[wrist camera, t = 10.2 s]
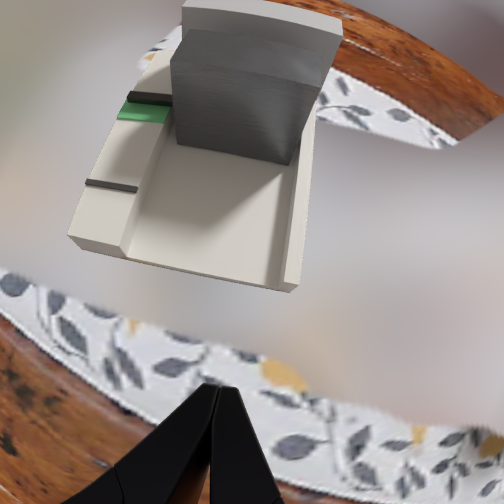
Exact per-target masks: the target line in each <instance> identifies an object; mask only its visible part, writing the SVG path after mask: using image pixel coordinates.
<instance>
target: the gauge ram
mask: <svg viewBox="0 0 504 504" xmlns="http://www.w3.org/2000/svg"><path fill="white" fill-rule="evenodd" d="M321 61H322V53H320V52H316V51H313V50H309V49H305V48H301V47H297V46H293V45H289V44H284V43H280V42H275V41H271V40H266V39H260V38H255V37H249V36H244V35H237V34H231V33H224V32H216V31H207V30H198V29H189V30H188V32H187V33H186V35H185V37H184V38H183V40H182V41H181V43H180V44H179V46H178V48H177V49H176V51H175V52H174V54H173V56H172V57H171V59H170V73H171V86H172V95H171V94H162V93H152V92H140V91H130V92H129V94H128V96H127V102H128V103H138V104H148V105H158V106H166V107H173V110H174V120H175V130H176V140H177V144H178V145H184V146H190V147H196V148H202V149H208V150H213V151H219V152H224V153H229V154H235V155H240V156H245V157H250V158H254V159H259V160H264V161H268V162H273V163H277V164H282V165H286V166H289V164H290V161H291V159H292V156H293V154H294V151H295V149H296V147H297V144H298V142H299V139H300V137H301V134H302V132H303V130H304V127H305V125H306V122H307V120H308V117H309V115H310V112H311V110H312V108H313V105H314V103H315V100H316V98H317V95H318V93H319V91H320V88H321Z"/></svg>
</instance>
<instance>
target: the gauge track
mask: <svg viewBox="0 0 504 504" xmlns="http://www.w3.org/2000/svg"><path fill="white" fill-rule="evenodd" d="M189 29H198V30H207V31H216V32H224V33H231V34H237V35H244V36H249V37H255V38H260V39H266V40H271V41H275V42H280V43H284V44H289V45H293V46H297V47H301V48H305V49H309V50H313V51H316V52H320V53H322V61H321V88H322V86H323V84H324V81H325V79H326V76H327V74H328V72H329V69H330V67H331V64H332V62H333V59H334V57H335V55H336V52H337V50H338V47H339V45H340V43H341V40H342V38H343V30H342V20H340V19H337V18H334V17H331V16H327V15H324V14H320V13H317V12H313V11H309V10H305V9H301V8H297V7H293V6H288V5H284V4H279V3H274V2H269V1H263V0H187V1H186V2H185V3H184V4H183V6H182V40H183V38H184V37H185V35H186V33H187V32H188V30H189ZM173 54H174V52H172V51H157V53H156V54H155V56H154V57H153V59H152V60H151V62H150V64H149V65H148V67H147V68H146V70H145V71H144V73H143V75H142V76H141V78H140V80H139V81H138V83H137V85H136V86H135V88H134V90H133V91H140V92H152V93H162V94H171V95H172V86H171V73H170V59H171V57H172V56H173ZM321 88H320V91H321ZM320 91H319V93H320ZM319 93H318V95H317V98H318V96H319ZM317 98H316V100H315V103H314V105H313V108H312V110H311V112H310V115H309V117H308V120H307V122H306V125H305V127H304V130H303V132H302V134H301V137H300V139H299V142H298V144H297V147H296V149H295V151H294V154H293V156H292V159H291V161H290V164H289V166H286V165H282V164H277V163H273V162H268V161H264V160H259V159H254V158H250V157H245V156H240V155H235V154H229V153H224V152H219V151H213V150H208V149H202V148H196V147H190V146H184V145H178V144H177V140H176V130H175V120H174V110H173V107H166V106H158V105H148V104H138V103H128V102H127V99H126V101H125V103H124V105H123V107H122V108H121V110H120V112H119V114H118V116H117V120H116V122H115V124H114V126H113V128H112V130H111V132H110V134H109V136H108V138H107V140H106V142H105V144H104V146H103V148H102V150H101V152H100V154H99V156H98V158H97V161H96V163H95V165H94V167H93V169H92V172H91V174H90V176H89V179H87V180H86V182H85V184H86V186H85V188H84V191H83V193H82V195H81V198H80V200H79V203H78V205H77V208H76V211H75V213H74V216H73V219H72V222H71V224H70V227H69V230H68V232H67V235H68V236H69V237H70V238H71V239H72V240H73V241H74V242H75V243H76V244H77V245H78V246H79V247H80V248H81V249H83V250H87V251H91V252H95V253H100V254H104V255H108V256H112V257H117V258H121V259H126V260H130V261H135V262H139V263H144V264H148V265H153V266H157V267H162V268H167V269H171V270H176V271H181V272H186V273H190V274H195V275H200V276H205V277H210V278H215V279H220V280H225V281H230V282H235V283H240V284H245V285H250V286H255V287H261V288H266V289H271V290H276V291H282V292H287V293H290V292H291V291H292V290H293V289H295V288H296V287H297V286H298V285H299V283H300V275H301V267H302V259H303V250H304V241H305V232H306V223H307V212H308V202H309V193H310V182H311V170H312V158H313V145H314V131H315V117H316V101H317Z"/></svg>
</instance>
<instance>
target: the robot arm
mask: <svg viewBox="0 0 504 504" xmlns="http://www.w3.org/2000/svg"><path fill="white" fill-rule="evenodd" d="M209 466H210V504H285V502H284V499H283V498H282V497H280V496H281V493H280V491H279V489H278V486H277V484H276V482H275V479H274V477H273V475H272V472H271V470H270V468H269V465H268V463H267V461H266V458H265V456H264V453H263V451H262V448H261V446H260V444H259V441H258V439H257V436H256V434H255V431H254V429H253V426H252V424H251V421H250V419H249V416H248V413H247V411H246V408H245V406H244V403H243V400H242V398H241V395H240V392H239V390H238V388H236V387H230V386H221V387H220V386H219V385H216V384H209V383H203V384H202V385H200V386H199V387H198V388H197V389H196V390H195V391H194V392H193V393H192V394H191V395H190V396H189V397H188V398H187V399H186V400H185V401H184V402H183V403H182V404H181V405H180V406H179V407H177V408H176V409H175V410H174V411H173V412H172V413H171V414H170V415H169V416H168V417H167V418H166V419H165V420H164V421H162V422H161V423H160V424H159V425H158V426H157V427H156V428H155V429H154V430H153V431H152V432H150V433H149V434H148V435H147V436H146V437H145V438H144V439H143V440H142V441H140V442H139V443H138V444H137V445H136V446H135V447H134V448H133V449H131V450H130V451H129V452H128V453H127V454H126V455H125V456H124V457H122V458H121V459H120V460H119V461H118V462H117V463H115V464H114V467H111V468H109V469H108V470H107V471H106V472H105V473H104V474H102V475H101V476H100V477H99V478H97V479H96V480H95V481H94V482H92V483H91V484H90V485H88V486H87V487H86V488H84V489H83V490H81V491H80V492H78V493H77V494H75V495H74V496H72V497H70V498H69V499H67V500H66V501H64V502H62V503H60V504H198V501H199V498H200V495H201V492H202V489H203V485H204V482H205V479H206V476H207V473H208V470H209Z"/></svg>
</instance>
